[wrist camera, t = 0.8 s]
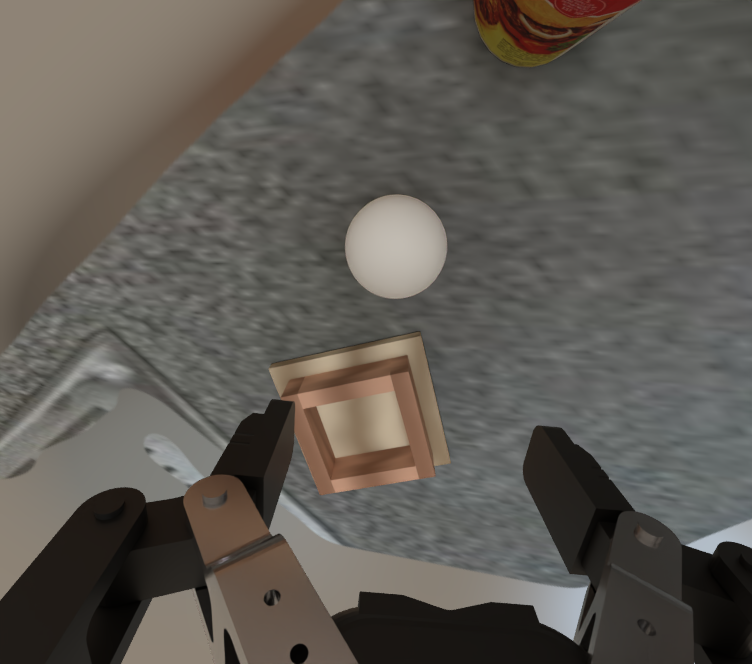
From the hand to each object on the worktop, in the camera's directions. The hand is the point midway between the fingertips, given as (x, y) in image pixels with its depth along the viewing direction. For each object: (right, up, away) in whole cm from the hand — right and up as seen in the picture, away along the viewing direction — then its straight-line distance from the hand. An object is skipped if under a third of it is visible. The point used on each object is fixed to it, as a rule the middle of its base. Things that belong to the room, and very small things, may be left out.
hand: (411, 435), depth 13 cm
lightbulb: (0, +12, +18) cm, 21 cm away
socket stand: (-2, -4, +25) cm, 25 cm away
